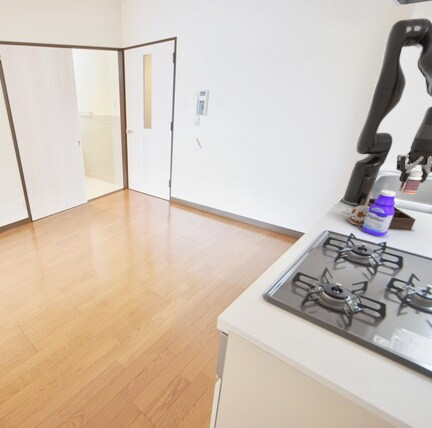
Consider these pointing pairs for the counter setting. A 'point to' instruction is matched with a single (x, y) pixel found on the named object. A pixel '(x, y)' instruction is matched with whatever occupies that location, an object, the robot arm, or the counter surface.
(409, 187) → the pill bottle
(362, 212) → the decorative ornament
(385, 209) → the bottle
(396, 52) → the robot arm
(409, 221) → the organiser
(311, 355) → the counter surface
